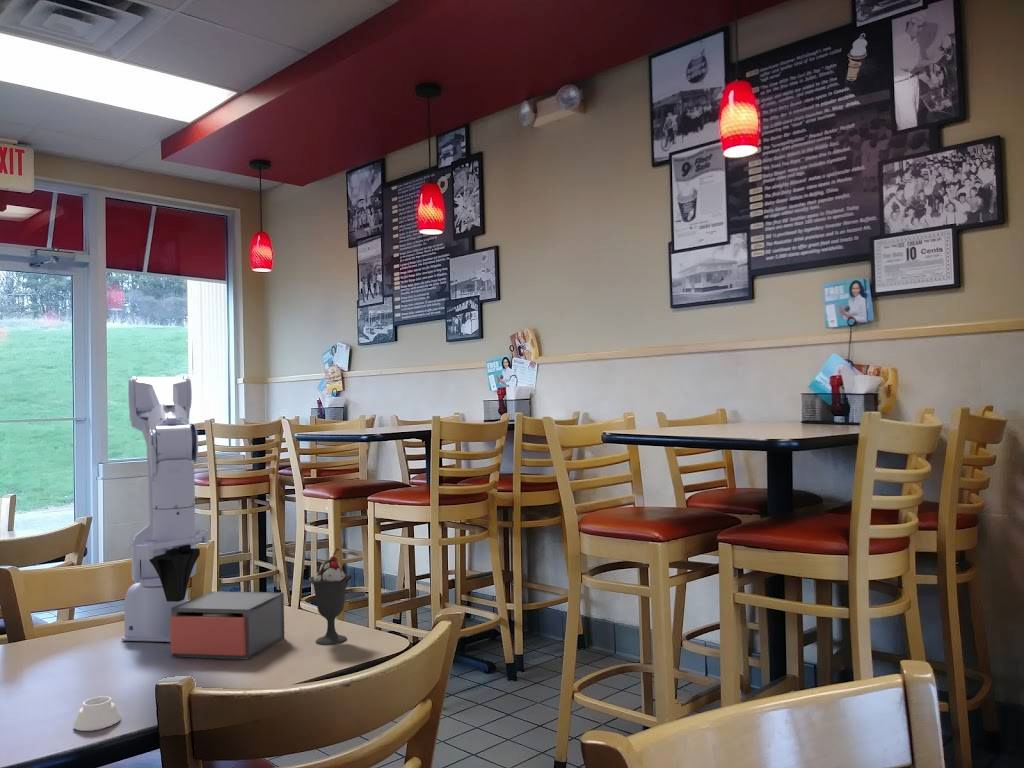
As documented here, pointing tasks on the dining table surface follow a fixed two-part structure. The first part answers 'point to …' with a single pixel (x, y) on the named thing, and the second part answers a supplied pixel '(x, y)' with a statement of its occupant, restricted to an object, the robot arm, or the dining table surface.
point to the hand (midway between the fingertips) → (175, 600)
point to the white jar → (97, 714)
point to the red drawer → (208, 635)
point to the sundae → (330, 596)
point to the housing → (256, 608)
